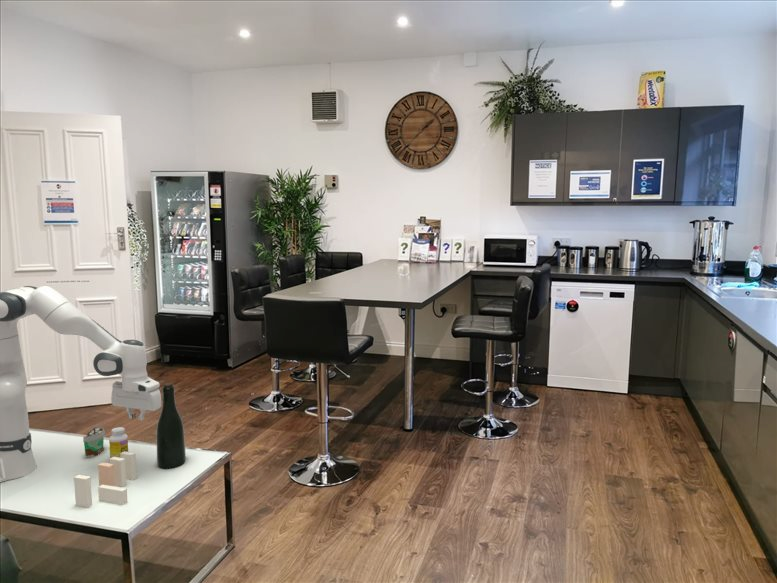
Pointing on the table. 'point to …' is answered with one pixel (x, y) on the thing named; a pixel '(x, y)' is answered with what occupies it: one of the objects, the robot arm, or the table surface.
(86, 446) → the food container
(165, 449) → the dark green wine bottle
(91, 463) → the table surface
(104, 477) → the domino
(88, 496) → the domino
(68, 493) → the table surface
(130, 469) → the domino
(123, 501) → the domino
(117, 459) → the domino
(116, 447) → the supplement bottle
